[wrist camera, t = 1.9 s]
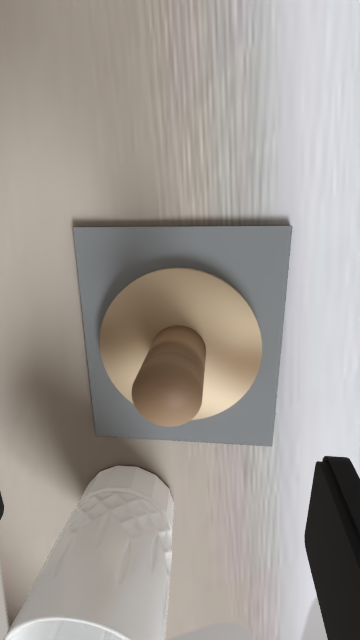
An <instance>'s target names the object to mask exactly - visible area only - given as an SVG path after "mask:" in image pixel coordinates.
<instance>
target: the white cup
mask: <svg viewBox="0 0 360 640" xmlns="http://www.w3.org/2000/svg"><path fill="white" fill-rule="evenodd" d="M173 517H174V502H173V499H172V496H171V492H170V489H169V488H168V487H167V486H166V485H165V484H164V483H163V482H162V481H161V480H160V479H159V478H158V477H157V476H156V475H155V474H153V473H150V472H148V471H146V470H144V469H141V468H139V467H134V466H114V467H111V468H108V469H106V470H103V471H100V472H99V473H98V474H97V475H96V476H95V477H94V479H93V480H92V481H91V482H90V483H89V484H88V486H87V488H86V490H85V492H84V494H83V496H82V498H81V500H80V502H79V503H78V505H77V507H76V508H75V509H74V511H73V513H72V514H71V516H70V517H69V519H68V521H67V523H66V525H65V527H64V529H63V531H62V532H61V534H60V535H59V537H58V539H57V541H56V542H55V544H54V546H53V548H52V550H51V552H50V554H49V555H48V557H47V559H46V561H45V563H44V565H43V567H42V569H41V571H40V572H39V574H38V576H37V578H36V580H35V582H34V584H33V586H32V588H31V589H30V591H29V593H28V595H27V597H26V599H25V601H24V603H23V604H22V606H21V608H20V610H19V612H18V614H17V616H16V617H15V619H14V621H13V623H12V625H11V627H10V628H9V630H8V632H7V634H6V636H5V638H4V640H165V635H166V624H167V612H168V600H169V589H170V576H171V571H170V568H171V559H172V527H173Z"/></svg>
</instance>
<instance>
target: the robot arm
mask: <svg viewBox="0 0 360 640" xmlns="http://www.w3.org/2000/svg"><path fill="white" fill-rule="evenodd" d="M3 512H4V504H3V501H2V497H1V493H0V520H1V518H2V515H3ZM305 547H306V552H307V556H308V560H309V564H310V568H311V573H312V577H313V581H314V585H315V589H316V593H317V597H318V601H319V605H320V609H321V613H322V617H323V622H324V626H325V630H326V633H327V637H328V640H360V478H359V476H358V474H357V472H356V470H355V468H354V466H353V464H352V462H351V461H350V459H349V458H346V457H332V456H324V458H323V461H322V462H316V465H315V472H314V478H313V484H312V491H311V497H310V504H309V510H308V516H307V523H306V529H305Z"/></svg>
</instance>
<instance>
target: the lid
mask: <svg viewBox="0 0 360 640" xmlns="http://www.w3.org/2000/svg"><path fill="white" fill-rule="evenodd" d="M100 352H101V358H102V361H103V365H104V368H105V370H106V372H107V374H108V376H109V378H110V379H111V381H112V383H113V384H114V386H115V387H116V388H117V389H118V391H119V392H120V393H121V394H122V395H123V396H124V397H125V398H126V399H128V400H129V401H130V402H131V403H133V404H134V406H135V407H136V409H137V411H138V412H139V413H140V414H141V415H142V416H143V417H144V418H145V419H147V420H148V421H150V422H152V423H154V424H157V425H160V426H167V427H173V426H179V425H182V424H185V423H187V422H189V421H190V420H197V419H202V418H207V417H210V416H213V415H216V414H218V413H220V412H222V411H224V410H226V409H228V408H229V407H231V406H232V405H234V404H235V403H236V402H237V401H239V400H240V399H241V398H242V397H243V396H244V395H245V393H246V392H247V391H248V390H249V388H250V387H251V385H252V384H253V382H254V380H255V378H256V376H257V374H258V371H259V367H260V364H261V358H262V339H261V333H260V329H259V326H258V323H257V320H256V317H255V315H254V313H253V311H252V309H251V307H250V306H249V304H248V303H247V301H246V300H245V299H244V297H243V296H242V295H241V294H240V293H239V292H238V291H237V290H236V289H235V288H234V287H233V286H232V285H230V284H229V283H227V282H226V281H224V280H223V279H221V278H219V277H217V276H215V275H213V274H211V273H208V272H205V271H202V270H198V269H193V268H184V267H173V268H165V269H160V270H156V271H153V272H150V273H147V274H145V275H143V276H141V277H139V278H137V279H136V280H135V281H133V282H132V283H130V284H129V285H128V286H127V287H126V288H124V289H123V290H122V291H121V292H120V293H119V294H118V295H117V296H116V298H115V299H114V300H113V301H112V303H111V305H110V306H109V308H108V310H107V311H106V314H105V316H104V319H103V322H102V326H101V330H100Z"/></svg>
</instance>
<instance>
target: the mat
mask: <svg viewBox="0 0 360 640" xmlns="http://www.w3.org/2000/svg"><path fill="white" fill-rule="evenodd" d="M73 233H74V242H75V251H76V260H77V269H78V278H79V288H80V297H81V306H82V315H83V324H84V333H85V342H86V351H87V361H88V370H89V379H90V388H91V397H92V406H93V415H94V424H95V434H96V436H105V437H122V438H139V439H156V440H172V441H189V442H206V443H223V444H240V445H256V446H272V442H273V431H274V420H275V409H276V398H277V388H278V377H279V366H280V355H281V344H282V333H283V322H284V311H285V300H286V289H287V279H288V268H289V257H290V246H291V235H292V226H158V227H73ZM173 267H184V268H193V269H198V270H202V271H205V272H208V273H211V274H213V275H215V276H217V277H219V278H221V279H223V280H224V281H226V282H227V283H229V284H230V285H232V286H233V287H234V288H235V289H236V290H237V291H238V292H239V293H240V294H241V295H242V296H243V297H244V299H245V300H246V301H247V303H248V304H249V306H250V307H251V309H252V311H253V313H254V315H255V317H256V320H257V323H258V326H259V329H260V333H261V339H262V358H261V364H260V367H259V371H258V374H257V376H256V378H255V380H254V382H253V384H252V385H251V387H250V388H249V390H248V391H247V392H246V393H245V395H244V396H243V397H242V398H241V399H240V400H239V401H237V402H236V403H235V404H234V405H232V406H231V407H229V408H228V409H226V410H224V411H222V412H220V413H218V414H216V415H213V416H210V417H207V418H202V419H197V420H190V421H189V422H187V423H185V424H182V425H179V426H173V427H167V426H160V425H157V424H154V423H152V422H150V421H148V420H147V419H145V418H144V417H143V416H142V415H141V414H140V413H139V412H138V411H137V409H136V407H135V406H134V404H133V403H131V402H130V401H129V400H128V399H126V398H125V397H124V396H123V395H122V394H121V393H120V392H119V391H118V389H117V388H116V387H115V386H114V384H113V383H112V381H111V379H110V378H109V376H108V374H107V372H106V370H105V368H104V365H103V361H102V358H101V352H100V330H101V326H102V322H103V319H104V316H105V314H106V311H107V310H108V308H109V306H110V305H111V303H112V301H113V300H114V299H115V298H116V296H117V295H118V294H119V293H120V292H121V291H122V290H123V289H124V288H126V287H127V286H128V285H129V284H130V283H132V282H133V281H135V280H136V279H137V278H139V277H141V276H143V275H145V274H147V273H150V272H153V271H156V270H160V269H165V268H173Z"/></svg>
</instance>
